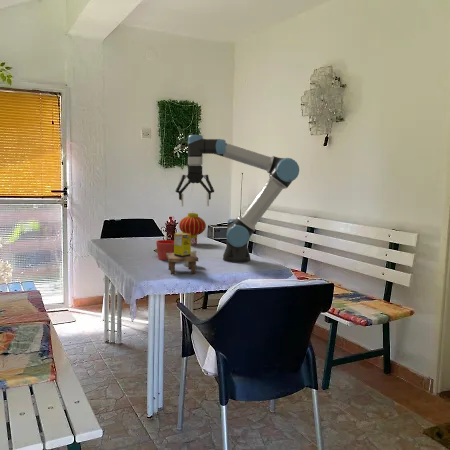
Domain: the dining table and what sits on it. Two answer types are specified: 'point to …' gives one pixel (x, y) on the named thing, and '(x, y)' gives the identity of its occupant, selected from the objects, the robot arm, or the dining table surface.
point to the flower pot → (164, 248)
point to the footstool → (190, 259)
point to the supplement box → (182, 244)
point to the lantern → (192, 226)
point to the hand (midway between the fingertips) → (194, 206)
